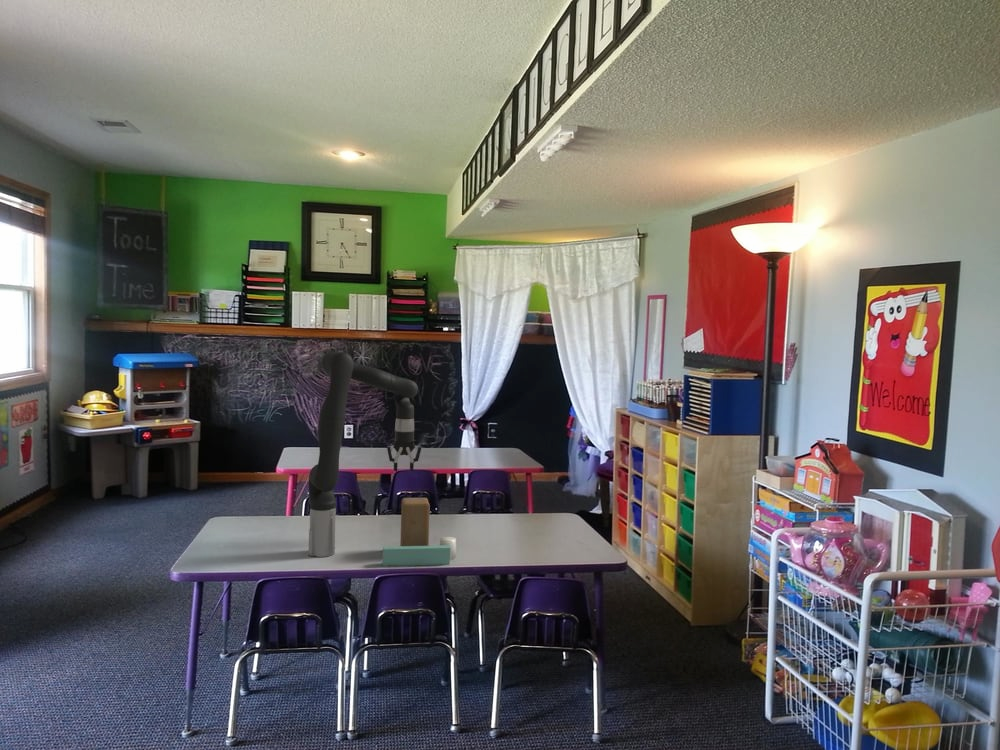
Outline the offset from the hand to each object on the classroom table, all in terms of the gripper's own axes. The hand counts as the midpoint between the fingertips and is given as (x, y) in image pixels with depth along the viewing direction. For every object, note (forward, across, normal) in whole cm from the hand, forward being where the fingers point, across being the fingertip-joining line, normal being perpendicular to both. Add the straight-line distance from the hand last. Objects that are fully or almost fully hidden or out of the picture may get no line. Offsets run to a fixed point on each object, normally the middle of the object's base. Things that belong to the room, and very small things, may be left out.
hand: (403, 471), depth 278 cm
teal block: (+27, +4, -30) cm, 41 cm away
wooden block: (+28, +4, -17) cm, 33 cm away
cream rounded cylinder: (+28, +16, -24) cm, 40 cm away
